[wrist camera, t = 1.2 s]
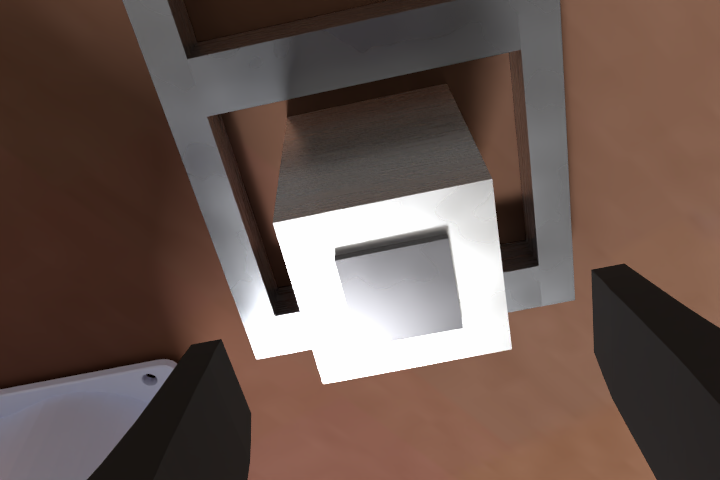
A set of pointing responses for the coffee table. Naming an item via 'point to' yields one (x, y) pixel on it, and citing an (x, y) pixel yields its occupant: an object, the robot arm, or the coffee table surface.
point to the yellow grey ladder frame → (343, 69)
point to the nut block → (391, 235)
